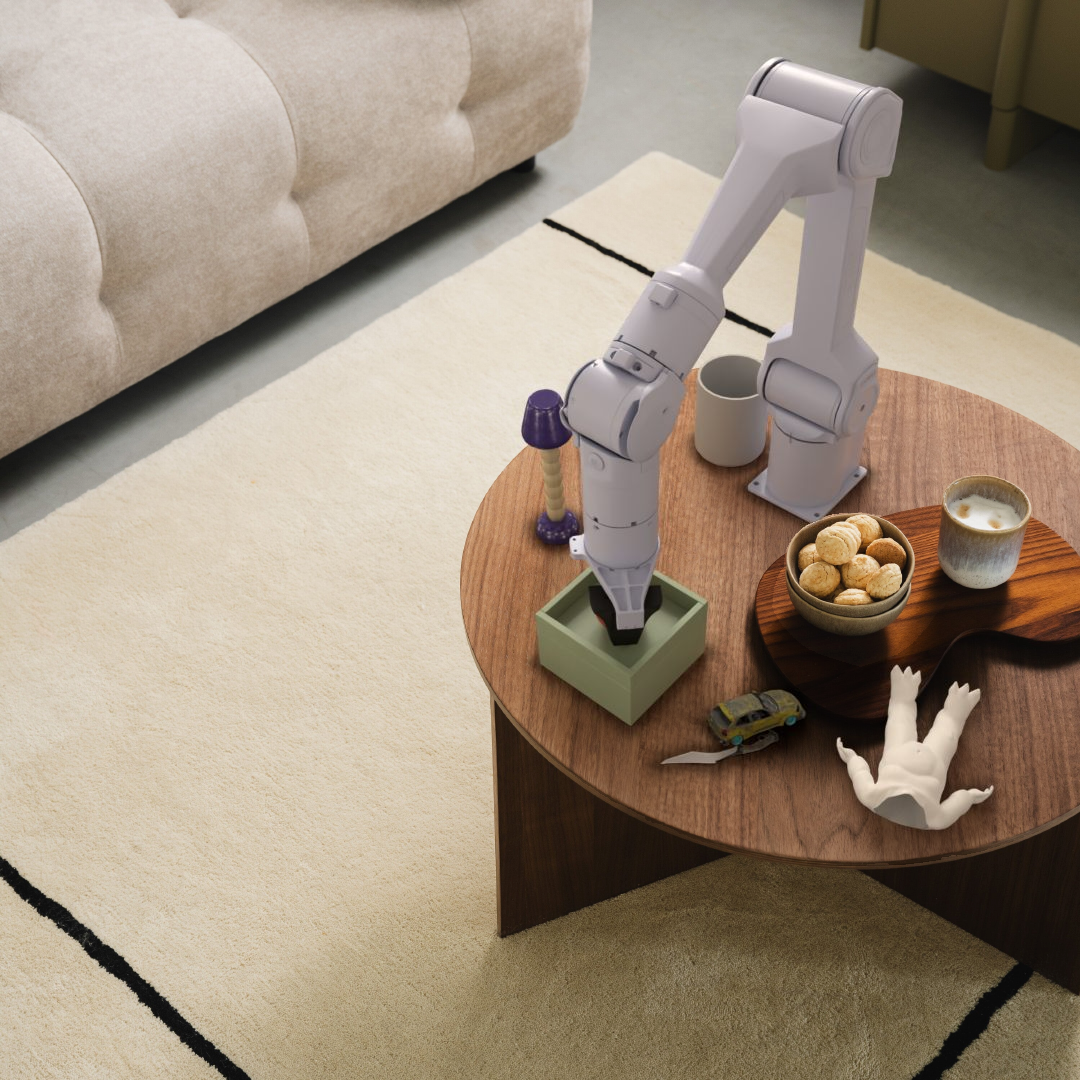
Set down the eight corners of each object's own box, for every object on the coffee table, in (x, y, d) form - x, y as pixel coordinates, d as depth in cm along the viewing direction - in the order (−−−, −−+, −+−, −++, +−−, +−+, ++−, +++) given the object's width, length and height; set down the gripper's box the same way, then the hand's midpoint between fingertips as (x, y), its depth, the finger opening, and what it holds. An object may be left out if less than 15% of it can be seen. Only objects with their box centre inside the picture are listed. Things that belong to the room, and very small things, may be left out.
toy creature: (1017, 695, 90) (1002, 800, 80) (996, 750, 93) (979, 857, 84) (863, 650, 93) (832, 746, 84) (849, 705, 97) (817, 803, 88)
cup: (699, 471, 116) (703, 402, 109) (685, 408, 123) (688, 339, 116) (770, 466, 116) (778, 397, 109) (753, 403, 123) (760, 334, 116)
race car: (811, 719, 94) (811, 696, 92) (722, 751, 92) (721, 728, 91) (788, 692, 97) (788, 669, 95) (702, 722, 95) (700, 700, 94)
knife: (773, 728, 94) (773, 725, 94) (782, 744, 93) (782, 741, 93) (658, 762, 93) (658, 760, 92) (666, 779, 91) (666, 776, 91)
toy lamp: (571, 552, 109) (564, 418, 97) (524, 544, 110) (511, 410, 98) (584, 517, 112) (578, 383, 100) (538, 510, 113) (527, 376, 101)
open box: (614, 595, 105) (613, 544, 100) (704, 651, 100) (708, 600, 95) (539, 664, 100) (534, 613, 95) (630, 726, 95) (630, 677, 90)
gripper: (561, 441, 91) (568, 557, 101) (574, 576, 81) (580, 691, 91) (649, 434, 91) (648, 551, 101) (673, 569, 81) (669, 684, 91)
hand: (621, 617), depth 96 cm, fingers open, 5 cm apart
